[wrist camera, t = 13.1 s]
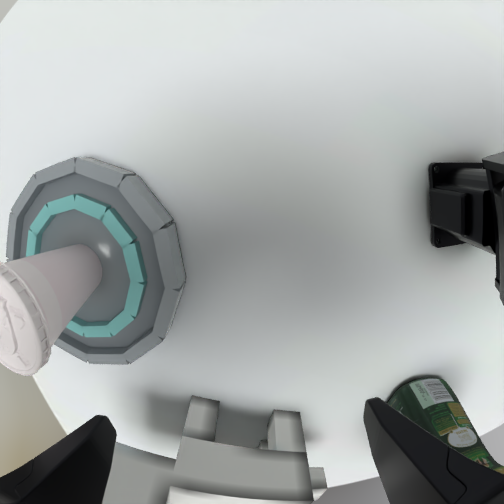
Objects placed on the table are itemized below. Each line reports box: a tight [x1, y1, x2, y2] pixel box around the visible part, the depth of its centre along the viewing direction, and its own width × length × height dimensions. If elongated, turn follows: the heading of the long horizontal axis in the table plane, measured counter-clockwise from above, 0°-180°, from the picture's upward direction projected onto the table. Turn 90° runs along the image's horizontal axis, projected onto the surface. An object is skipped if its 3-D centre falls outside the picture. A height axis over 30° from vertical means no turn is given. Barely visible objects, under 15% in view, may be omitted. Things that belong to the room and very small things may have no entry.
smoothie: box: [0, 244, 102, 376], centre depth 13 cm, size 6×6×14 cm
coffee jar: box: [387, 378, 504, 474], centre depth 16 cm, size 10×8×19 cm
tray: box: [6, 157, 186, 364], centre depth 20 cm, size 16×16×2 cm
